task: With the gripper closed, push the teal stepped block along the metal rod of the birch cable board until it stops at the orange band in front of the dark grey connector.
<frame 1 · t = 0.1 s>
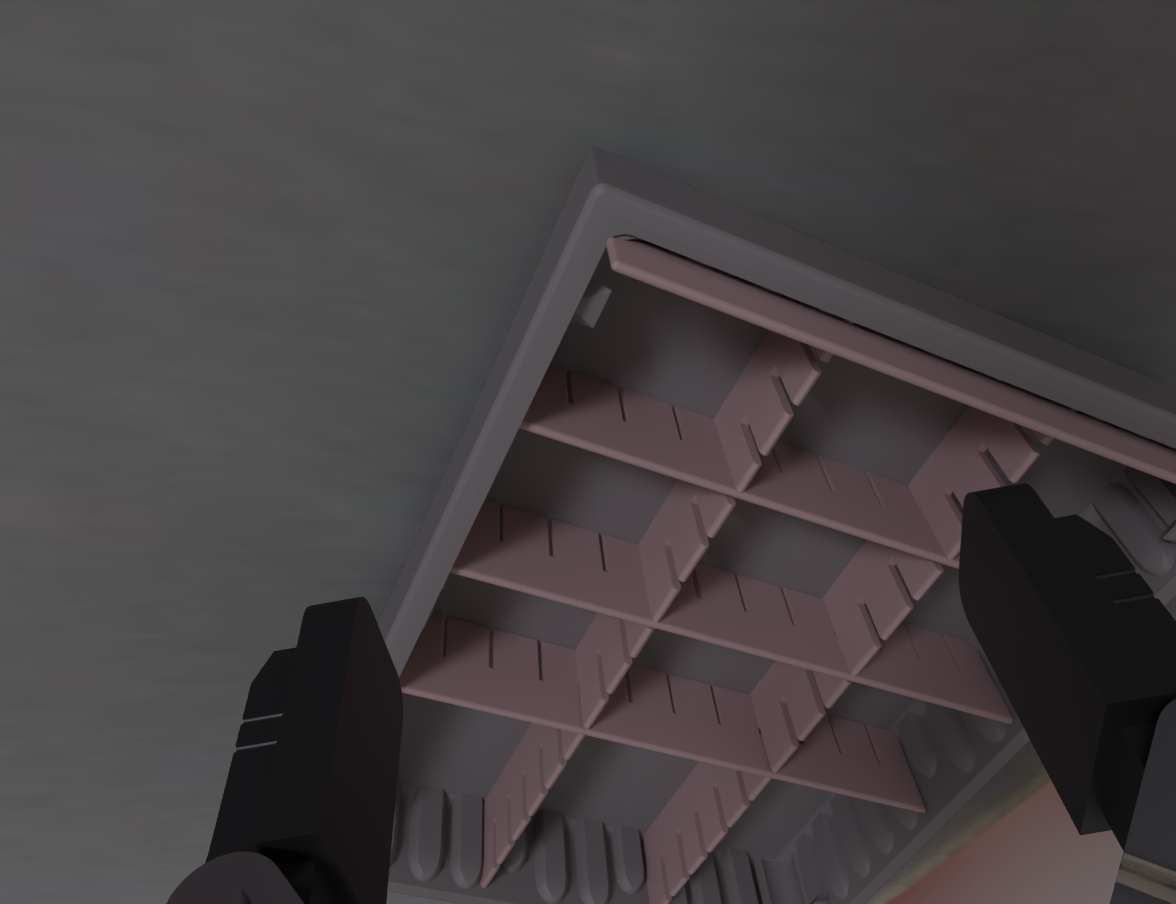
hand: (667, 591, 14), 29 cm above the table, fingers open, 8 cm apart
organizer tray: (704, 575, 54), on the table
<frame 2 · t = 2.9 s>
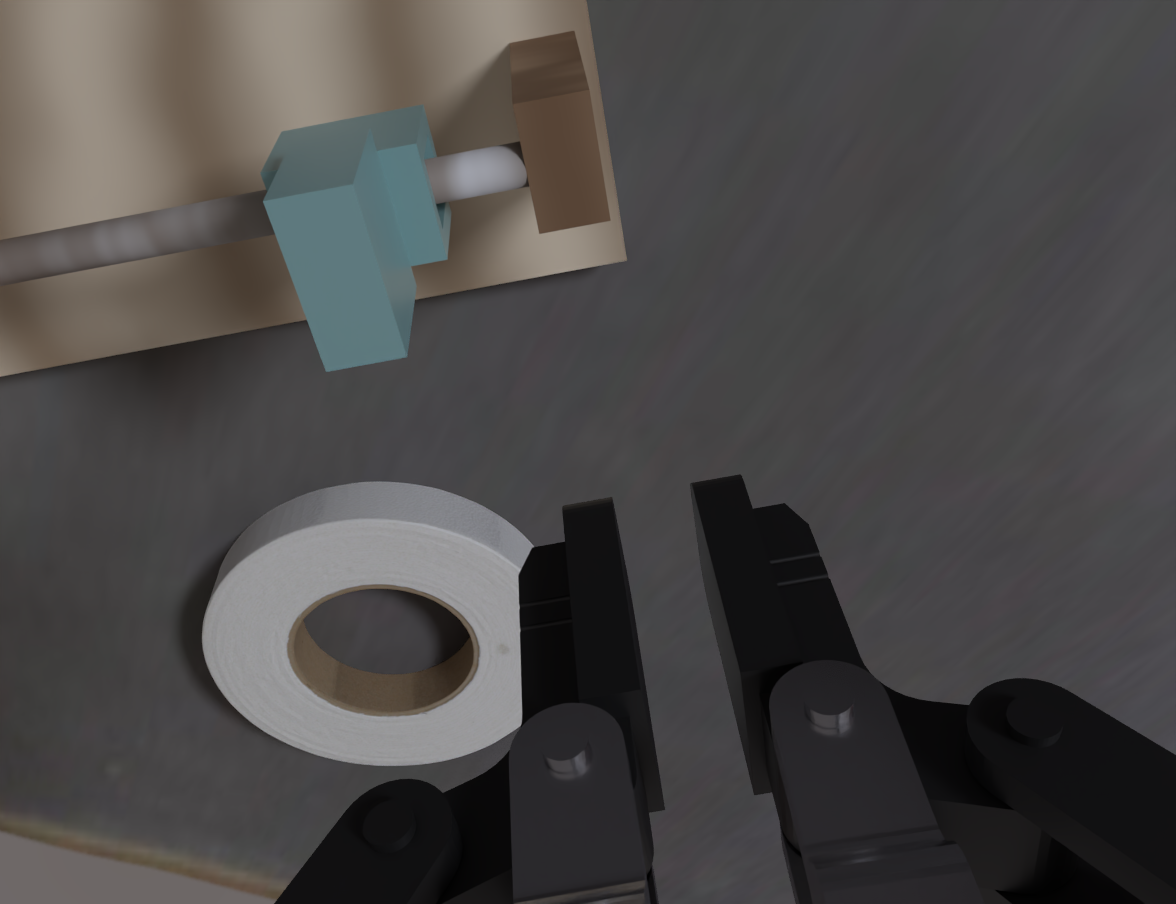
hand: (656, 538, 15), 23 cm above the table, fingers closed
teal stepped block: (355, 222, 26), point 9 cm above the table, slide at 0.0 cm
roll of tape: (392, 607, 47), on the table
cable board: (236, 142, 34), on the table
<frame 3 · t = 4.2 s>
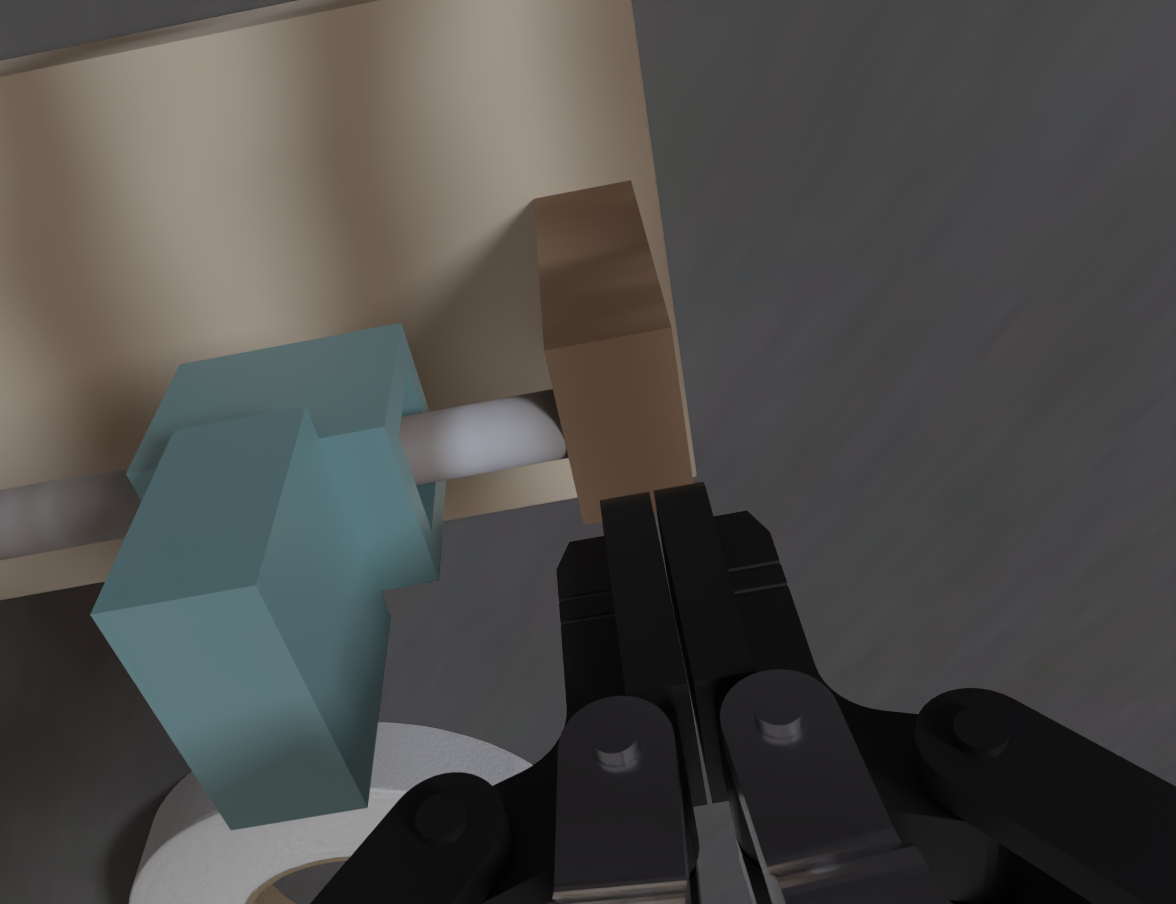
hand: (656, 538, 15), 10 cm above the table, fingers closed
teal stepped block: (287, 542, 16), point 9 cm above the table, slide at 0.0 cm
roll of tape: (378, 849, 37), on the table
cable board: (140, 325, 23), on the table
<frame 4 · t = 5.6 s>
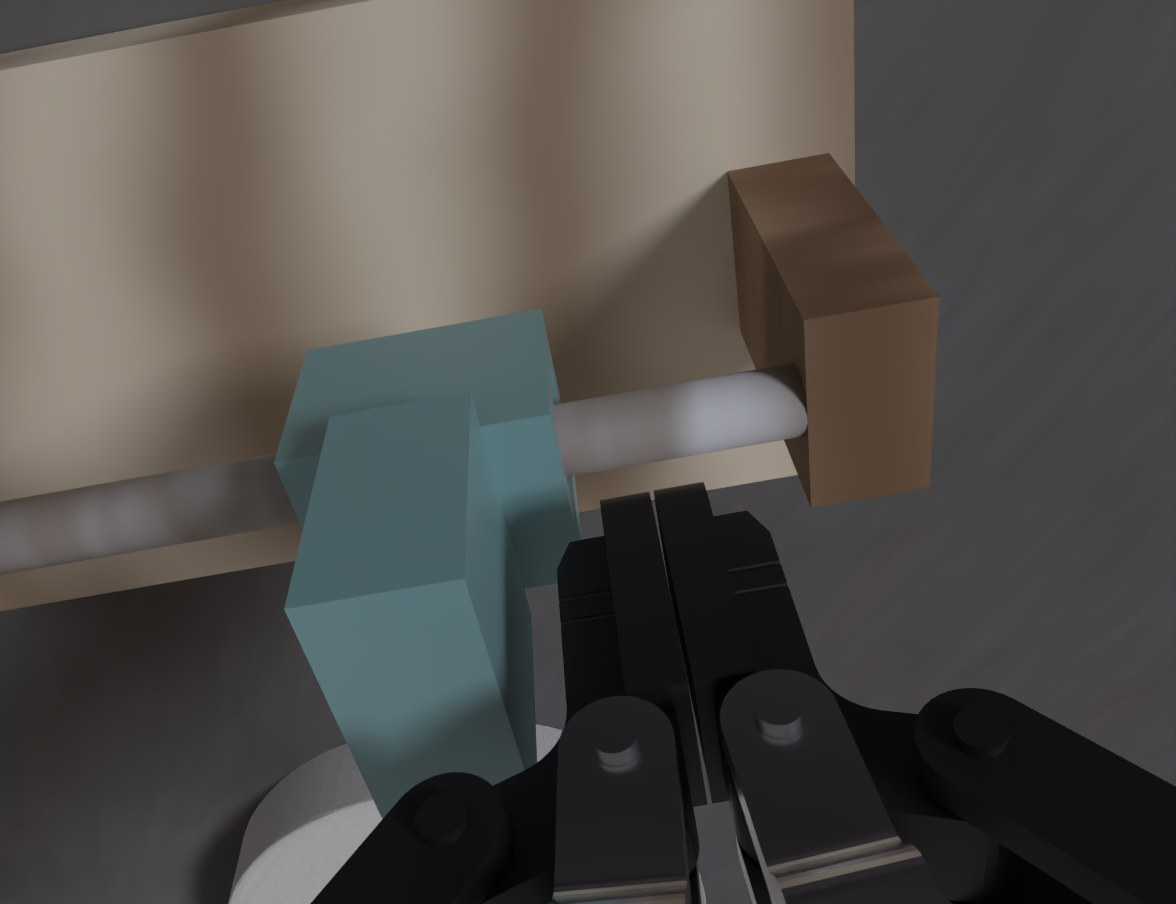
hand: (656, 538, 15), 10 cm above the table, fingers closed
teal stepped block: (437, 536, 15), point 9 cm above the table, slide at 1.4 cm, touching gripper
roll of tape: (472, 852, 36), on the table
cable board: (294, 302, 23), on the table
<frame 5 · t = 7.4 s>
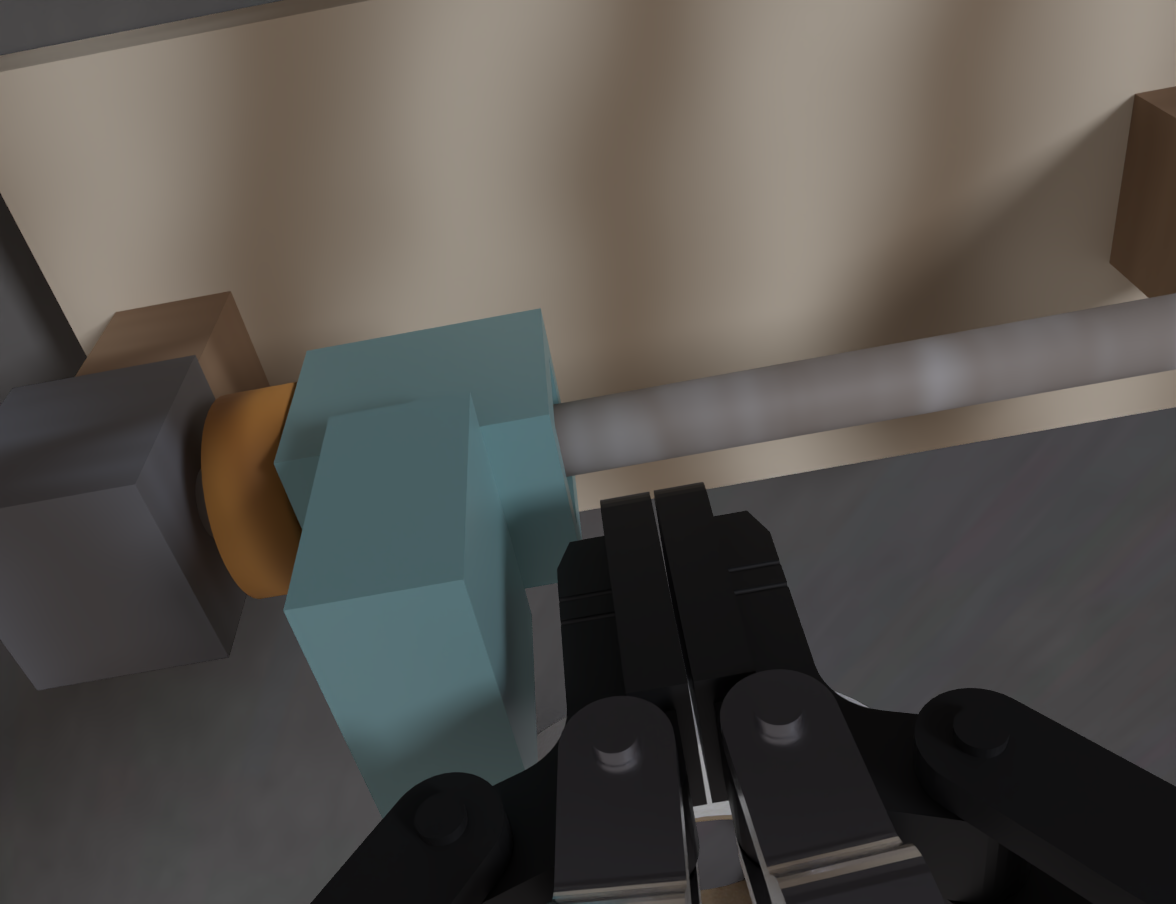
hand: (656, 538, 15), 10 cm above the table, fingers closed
teal stepped block: (437, 536, 15), point 9 cm above the table, slide at 9.3 cm, touching gripper
roll of tape: (698, 814, 36), on the table
cable board: (649, 237, 22), on the table
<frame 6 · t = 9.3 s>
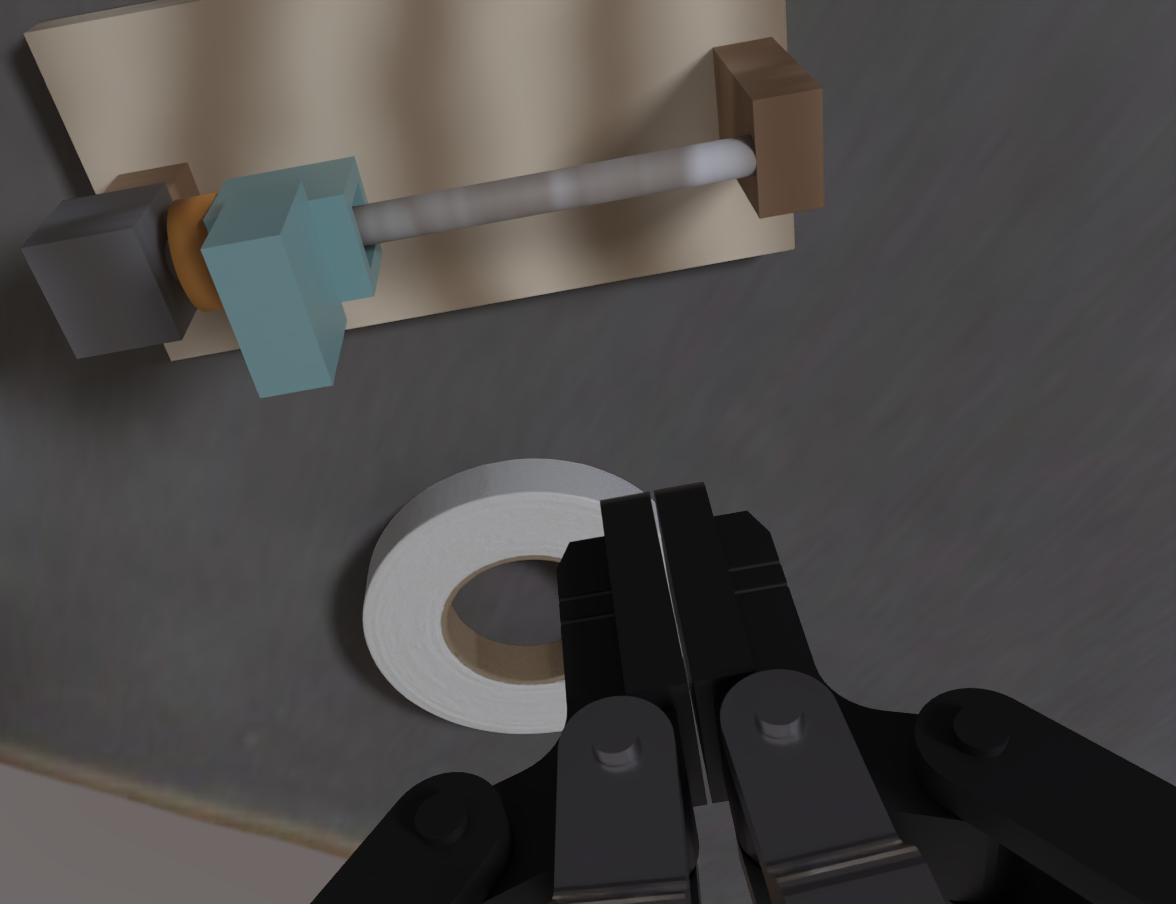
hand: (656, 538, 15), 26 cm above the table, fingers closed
teal stepped block: (289, 263, 29), point 9 cm above the table, slide at 9.3 cm
roll of tape: (530, 581, 50), on the table
cable board: (445, 137, 37), on the table
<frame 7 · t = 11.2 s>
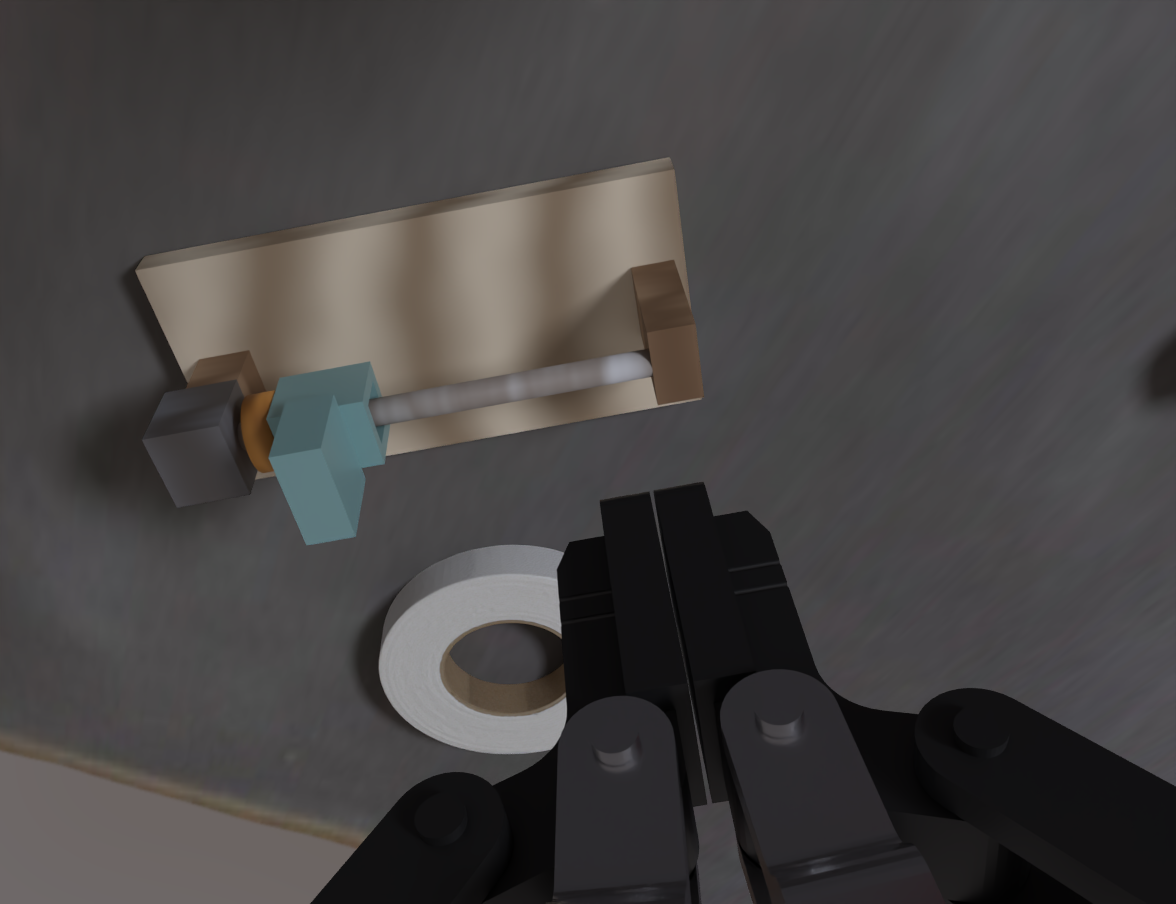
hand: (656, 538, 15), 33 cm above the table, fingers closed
teal stepped block: (325, 446, 42), point 9 cm above the table, slide at 9.3 cm
roll of tape: (511, 634, 63), on the table
cable board: (437, 323, 49), on the table
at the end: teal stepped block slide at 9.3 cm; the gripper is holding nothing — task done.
